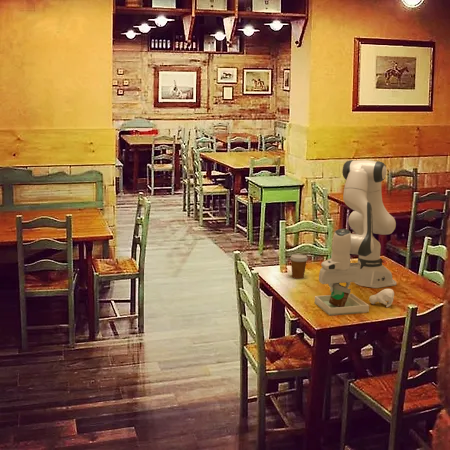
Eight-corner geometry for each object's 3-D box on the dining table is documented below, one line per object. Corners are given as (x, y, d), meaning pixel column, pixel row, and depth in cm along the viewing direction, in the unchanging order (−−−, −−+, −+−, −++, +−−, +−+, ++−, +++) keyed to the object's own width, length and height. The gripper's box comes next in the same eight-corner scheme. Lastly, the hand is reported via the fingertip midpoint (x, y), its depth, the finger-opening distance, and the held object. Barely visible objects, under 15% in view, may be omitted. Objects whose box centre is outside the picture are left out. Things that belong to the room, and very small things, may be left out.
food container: (322, 298, 337) (328, 279, 336) (332, 300, 339) (339, 281, 338) (334, 307, 326) (340, 287, 324) (345, 309, 328) (351, 289, 327)
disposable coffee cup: (310, 278, 381) (311, 257, 378) (296, 280, 376) (297, 259, 373) (299, 273, 389) (299, 253, 386) (285, 276, 383) (286, 255, 381)
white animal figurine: (393, 291, 333) (368, 290, 336) (394, 308, 335) (368, 307, 338) (394, 287, 339) (369, 286, 342) (394, 304, 341) (369, 303, 344)
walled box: (351, 300, 345) (352, 293, 345) (368, 312, 328) (369, 305, 328) (314, 303, 340) (314, 296, 339) (329, 315, 323) (330, 308, 322)
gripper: (357, 260, 335) (355, 287, 338) (318, 262, 329) (316, 290, 332) (363, 264, 329) (361, 291, 332) (323, 266, 323) (322, 294, 326)
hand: (338, 291), depth 332 cm, fingers closed on food container, 5 cm apart
